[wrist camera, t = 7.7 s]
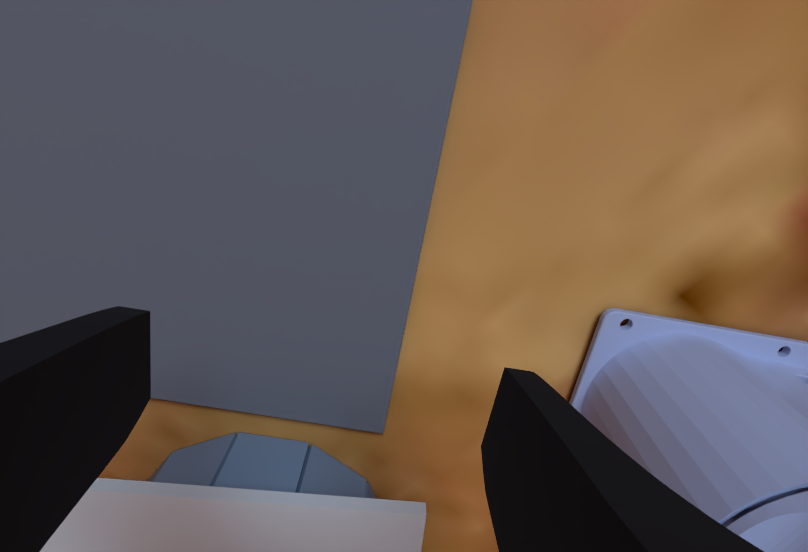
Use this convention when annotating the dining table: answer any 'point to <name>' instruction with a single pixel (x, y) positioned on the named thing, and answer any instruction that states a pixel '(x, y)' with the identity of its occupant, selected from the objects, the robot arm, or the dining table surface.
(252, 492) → the lid
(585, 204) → the dining table surface
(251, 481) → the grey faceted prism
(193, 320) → the mat
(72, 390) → the robot arm
